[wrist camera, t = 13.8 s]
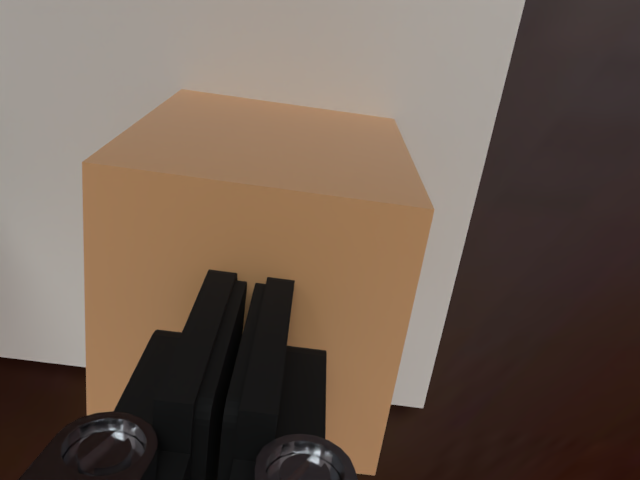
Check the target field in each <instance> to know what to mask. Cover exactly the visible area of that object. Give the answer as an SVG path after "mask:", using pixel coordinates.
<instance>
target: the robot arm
mask: <svg viewBox="0 0 640 480" xmlns="http://www.w3.org/2000/svg"><path fill="white" fill-rule="evenodd" d="M294 283H295V280H288V279H280V278H272V277H267V281H266V284H262V283H255V286H254V290H253V294H252V298H251V302H250V306H249V310H248V314H247V318H246V322H245V326H244V330H243V322H244V312H245V302H246V292H247V282H246V281H238V280H237V273H233V272H225V271H218V270H210V269H209V270H208V272H207V274H206V277H205V279H204V281H203V284H202V286H201V288H200V291H199V293H198V296H197V298H196V300H195V303H194V305H193V307H192V310H191V312H190V314H189V317H188V319H187V322H186V324H185V326H184V329H183V331H182V332H174V331H166V330H158V329H157V330H155V331H154V333H153V334H152V336H151V338H150V340H149V342H148V344H147V346H146V348H145V350H144V352H143V354H142V356H141V358H140V360H139V362H138V364H137V366H136V368H135V370H134V372H133V374H132V376H131V378H130V380H129V382H128V384H127V386H126V388H125V390H124V392H123V394H122V396H121V398H120V400H119V402H118V403H117V405H116V407H115V409H114V411H112V412H100V413H95V414H91V415H88V416H84V417H81V418H79V419H77V420H75V421H73V422H72V423H70V424H68V425H67V426H65V427H64V428H63V429H62V430H61V431H60V432H59V433H58V434H56V436H55V437H54V438H53V439H52V440H51V442H50V443H49V444H48V445H47V446H46V447H45V449H44V450H43V451H42V452H41V453H40V455H39V456H38V457H37V458H36V459H35V460H34V462H33V463H32V464H31V465H30V466H29V468H28V469H27V470H26V471H25V472H24V473H23V475H22V476H21V477H20V478H19V479H18V480H357V476H356V471H355V468H354V466H353V464H352V462H351V459H350V458H349V456H348V455H347V454H346V453H345V452H344V451H343V450H342V449H341V448H340V447H338V446H337V445H335V444H334V443H332V442H331V441H329V440H326V439H325V430H326V363H327V353H326V350H319V349H311V348H303V347H295V346H287V340H288V332H289V324H290V316H291V308H292V299H293V291H294ZM242 332H243V334H242Z"/></svg>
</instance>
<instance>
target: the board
mask: <svg viewBox="0 0 640 480" xmlns="http://www.w3.org/2000/svg"><path fill="white" fill-rule="evenodd" d="M524 4H525V0H0V357H5V358H13V359H22V360H30V361H38V362H46V363H54V364H63V365H71V366H79V367H86V346H85V294H84V241H83V189H82V162H83V161H84V160H85V159H87V158H88V157H89V156H91V155H92V154H94V153H95V152H96V151H98V150H99V149H100V148H102V147H103V146H104V145H106V144H107V143H109V142H110V141H111V140H113V139H114V138H115V137H117V136H118V135H120V134H121V133H122V132H124V131H125V130H126V129H128V128H129V127H130V126H132V125H133V124H135V123H136V122H137V121H139V120H140V119H141V118H143V117H144V116H145V115H147V114H148V113H150V112H151V111H152V110H154V109H155V108H156V107H158V106H159V105H160V104H162V103H163V102H165V101H166V100H167V99H169V98H170V97H171V96H173V95H174V94H175V93H177V92H178V91H180V90H181V89H185V90H192V91H199V92H206V93H213V94H220V95H227V96H235V97H242V98H249V99H256V100H263V101H270V102H277V103H284V104H292V105H299V106H306V107H313V108H320V109H327V110H334V111H342V112H349V113H356V114H363V115H370V116H377V117H384V118H392V119H394V120H395V122H396V124H397V126H398V129H399V131H400V133H401V135H402V138H403V140H404V142H405V144H406V147H407V149H408V151H409V153H410V156H411V158H412V160H413V162H414V165H415V167H416V169H417V171H418V174H419V176H420V178H421V180H422V183H423V185H424V187H425V189H426V191H427V194H428V196H429V198H430V200H431V203H432V205H433V207H434V209H435V210H434V214H433V219H432V223H431V228H430V232H429V237H428V241H427V245H426V250H425V254H424V259H423V263H422V268H421V272H420V277H419V281H418V286H417V290H416V294H415V299H414V303H413V308H412V312H411V317H410V321H409V326H408V330H407V335H406V339H405V344H404V348H403V352H402V357H401V361H400V366H399V370H398V375H397V379H396V384H395V388H394V393H393V397H392V401H391V404H392V405H400V406H408V407H417V408H423V407H424V403H425V399H426V395H427V391H428V387H429V383H430V379H431V375H432V371H433V367H434V363H435V359H436V355H437V351H438V347H439V343H440V339H441V335H442V331H443V327H444V323H445V319H446V315H447V311H448V307H449V303H450V299H451V295H452V291H453V287H454V283H455V279H456V275H457V271H458V267H459V263H460V259H461V255H462V251H463V247H464V243H465V239H466V235H467V231H468V227H469V223H470V219H471V215H472V211H473V207H474V203H475V199H476V195H477V191H478V187H479V183H480V179H481V175H482V171H483V167H484V163H485V159H486V155H487V151H488V147H489V143H490V139H491V135H492V131H493V127H494V123H495V119H496V115H497V111H498V107H499V103H500V99H501V95H502V91H503V87H504V83H505V79H506V75H507V71H508V67H509V63H510V59H511V55H512V51H513V47H514V43H515V39H516V35H517V31H518V27H519V23H520V20H521V16H522V12H523V8H524Z"/></svg>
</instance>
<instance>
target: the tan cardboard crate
mask: <svg viewBox="0 0 640 480" xmlns="http://www.w3.org/2000/svg"><path fill="white" fill-rule="evenodd" d="M82 189H83V241H84V294H85V346H86V399H87V416H88V415H91V414H95V413H100V412H112V411H114V409H115V407H116V405H117V403H118V402H119V400H120V398H121V396H122V394H123V392H124V390H125V388H126V386H127V384H128V382H129V380H130V378H131V376H132V374H133V372H134V370H135V368H136V366H137V364H138V362H139V360H140V358H141V356H142V354H143V352H144V350H145V348H146V346H147V344H148V342H149V340H150V338H151V336H152V334H153V333H154V331H155V330H157V329H158V330H166V331H174V332H182V331H183V329H184V326H185V324H186V322H187V319H188V317H189V314H190V312H191V310H192V307H193V305H194V303H195V300H196V298H197V296H198V293H199V291H200V288H201V286H202V284H203V281H204V279H205V277H206V274H207V272H208V270H209V269H210V270H218V271H225V272H233V273H237V280H238V281H246V282H247V292H246V302H245V312H244V322H243V330H244V326H245V322H246V318H247V314H248V310H249V306H250V302H251V298H252V294H253V290H254V286H255V283H262V284H266V281H267V277H272V278H280V279H288V280H295V283H294V291H293V299H292V308H291V316H290V324H289V332H288V340H287V346H295V347H303V348H311V349H319V350H326V353H327V363H326V430H325V439H326V440H329V441H331V442H332V443H334V444H335V445H337V446H338V447H340V448H341V449H342V450H343V451H344V452H345V453H346V454H347V455H348V456H349V458H350V459H351V462H352V464H353V466H354V468H355V471H356V473H357V474H366V475H374V476H375V473H376V468H377V464H378V459H379V455H380V451H381V446H382V442H383V437H384V433H385V428H386V424H387V419H388V415H389V410H390V406H391V401H392V397H393V393H394V388H395V384H396V379H397V375H398V370H399V366H400V361H401V357H402V352H403V348H404V344H405V339H406V335H407V330H408V326H409V321H410V317H411V312H412V308H413V303H414V299H415V294H416V290H417V286H418V281H419V277H420V272H421V268H422V263H423V259H424V254H425V250H426V245H427V241H428V237H429V232H430V228H431V223H432V219H433V214H434V210H435V209H434V207H433V205H432V203H431V200H430V198H429V196H428V194H427V191H426V189H425V187H424V185H423V183H422V180H421V178H420V176H419V174H418V171H417V169H416V167H415V165H414V162H413V160H412V158H411V156H410V153H409V151H408V149H407V147H406V144H405V142H404V140H403V138H402V135H401V133H400V131H399V129H398V126H397V124H396V122H395V120H394V119H392V118H384V117H377V116H370V115H363V114H356V113H349V112H342V111H334V110H327V109H320V108H313V107H306V106H299V105H292V104H284V103H277V102H270V101H263V100H256V99H249V98H242V97H235V96H227V95H220V94H213V93H206V92H199V91H192V90H185V89H181V90H180V91H178V92H177V93H175V94H174V95H173V96H171V97H170V98H169V99H167V100H166V101H165V102H163V103H162V104H160V105H159V106H158V107H156V108H155V109H154V110H152V111H151V112H150V113H148V114H147V115H145V116H144V117H143V118H141V119H140V120H139V121H137V122H136V123H135V124H133V125H132V126H130V127H129V128H128V129H126V130H125V131H124V132H122V133H121V134H120V135H118V136H117V137H115V138H114V139H113V140H111V141H110V142H109V143H107V144H106V145H104V146H103V147H102V148H100V149H99V150H98V151H96V152H95V153H94V154H92V155H91V156H89V157H88V158H87V159H85V160H84V161H83V162H82ZM242 334H243V332H242Z"/></svg>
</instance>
